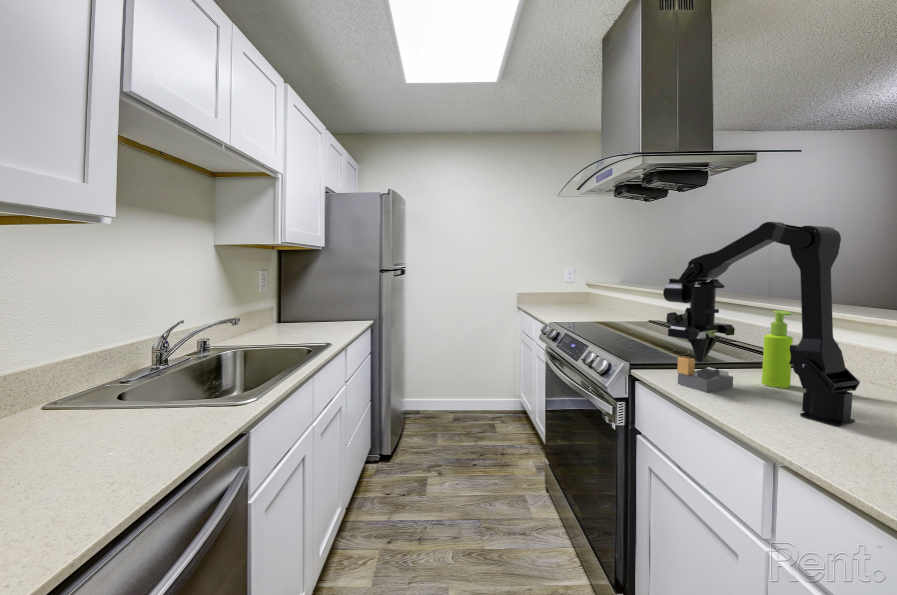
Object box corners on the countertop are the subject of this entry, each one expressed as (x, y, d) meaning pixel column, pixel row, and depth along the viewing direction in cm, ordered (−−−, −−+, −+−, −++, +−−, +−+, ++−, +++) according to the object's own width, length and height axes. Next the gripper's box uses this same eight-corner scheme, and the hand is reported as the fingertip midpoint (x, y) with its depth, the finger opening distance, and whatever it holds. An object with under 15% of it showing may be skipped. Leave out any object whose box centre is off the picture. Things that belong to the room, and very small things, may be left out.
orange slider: (694, 374, 107) (695, 357, 107) (687, 375, 106) (688, 358, 106) (683, 371, 110) (684, 355, 109) (677, 372, 109) (677, 356, 108)
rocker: (719, 374, 103) (719, 369, 103) (708, 379, 102) (708, 373, 101) (707, 372, 106) (707, 366, 106) (697, 376, 104) (696, 370, 104)
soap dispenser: (769, 388, 105) (773, 311, 104) (757, 381, 112) (761, 309, 110) (796, 390, 103) (801, 312, 102) (783, 383, 110) (787, 309, 109)
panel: (732, 387, 105) (733, 371, 105) (706, 392, 102) (707, 375, 101) (703, 380, 113) (703, 365, 113) (677, 383, 109) (678, 368, 109)
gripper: (697, 301, 120) (695, 353, 121) (651, 303, 113) (649, 359, 114) (737, 304, 109) (734, 361, 111) (688, 306, 102) (686, 367, 103)
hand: (700, 362), depth 110 cm, fingers closed
